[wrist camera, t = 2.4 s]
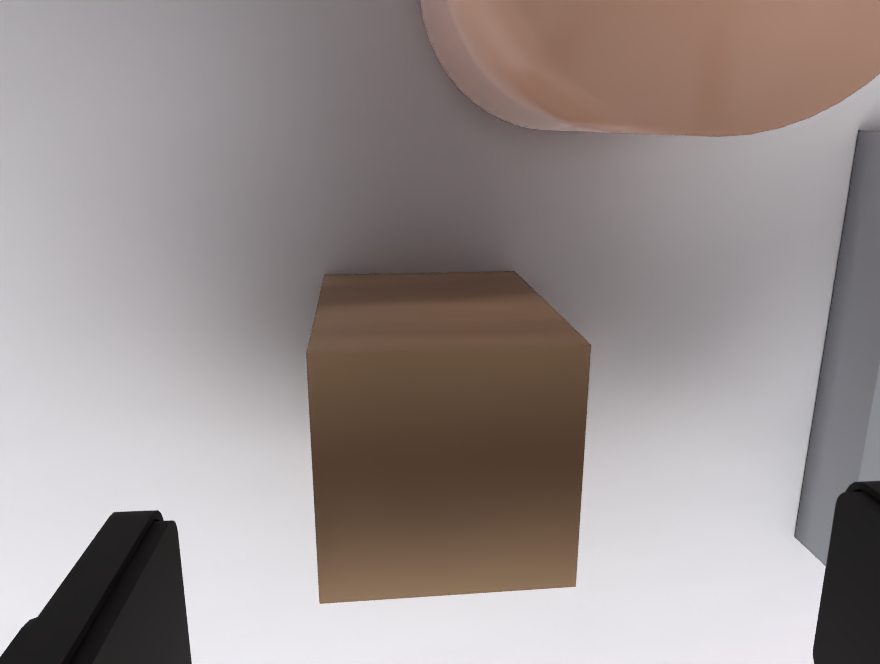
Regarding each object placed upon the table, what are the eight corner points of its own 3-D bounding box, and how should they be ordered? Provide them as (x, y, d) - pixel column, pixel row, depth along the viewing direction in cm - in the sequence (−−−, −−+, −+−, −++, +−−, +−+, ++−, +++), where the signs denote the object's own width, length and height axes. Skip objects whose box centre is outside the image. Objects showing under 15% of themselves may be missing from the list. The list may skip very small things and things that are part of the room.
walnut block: (324, 274, 17) (306, 354, 11) (513, 270, 17) (590, 345, 12) (332, 451, 18) (319, 603, 12) (508, 443, 18) (575, 586, 13)
